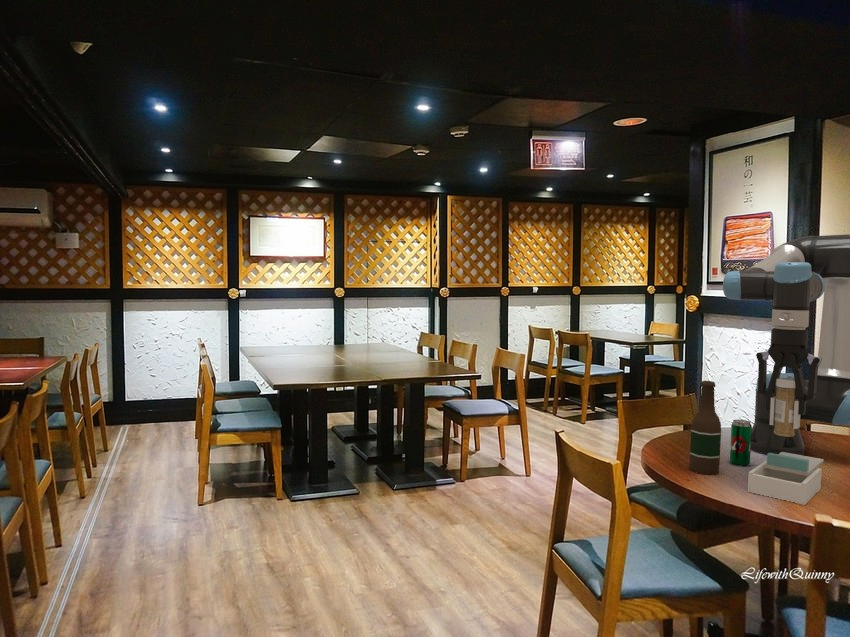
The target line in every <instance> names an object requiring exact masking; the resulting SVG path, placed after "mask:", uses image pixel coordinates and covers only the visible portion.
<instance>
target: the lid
mask: <svg viewBox="0 0 850 637" xmlns="http://www.w3.org/2000/svg"><path fill="white" fill-rule="evenodd" d="M766 456H767V457H766V460H767V463H765V464H764V467H765V468H770V469H775V470H780V471H785V472H790V473H795V474H800V475H805V476H809V475H810V474H811V473H812V472H814V471H815V470H816V469H817V468H820V467H821V465H822V464H824V460H825V459H824V458H820V457H819V458H818V457H814V456H807V455H797V454H791V453H786V452H781V453H780V454H774V453H768V454H766Z"/></svg>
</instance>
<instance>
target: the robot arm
mask: <svg viewBox="0 0 850 637" xmlns="http://www.w3.org/2000/svg"><path fill="white" fill-rule="evenodd" d="M722 281H723V283H722V290H723V295H724V297H725V298H727V299H728V300H738V301H763V302H764V301H767V302H772V310H771V311H772V312H771V326H773V328H771V331H770V332H771V333H770V346H769V348H768V350H766V351H760V352H759V351H758V352H757V353H756V355H755V356H756V360H757V362H758V373H757V379H756V388H755V401H754V402H755V403H754V404H755V405H754V406H755V407H754V408H755V409H754V423H753V424H752V434H751V451H754V452H756V453H758V454H764V455H767V454H768V453H774V454H780V453H781V452H786V453H791V454H797V455H803V456H805V455H804V454H805V444H804V440H803V437H802V434H801V429H800V427H801V421H809V422H810V421H811V422H815V423H822V424H829V425H833V426H845V427H847V426H849V427H850V234H830V235H829V234H828V235H807V236H803V237H798V238H795V239H792V240H789V241H787V242H784V243H782V244H780V245H778V246H776V247H775V248H774V249H772V251H770V253H769V256H767V257H765V258H764V259H762V260H760V261H758V262H757V263H756V264H754V265H752V266H751V267H748V268H747V269H746V270H732V271H728V272H727V273H725V275H724V276H723V280H722ZM822 296H823V298H822V299H823V301H822V311H821V320H820V322H821V323H820V331H819V340H818V341H819V342H818V351H817V353H818V354H817V356H816V355H813V354H810V351H809V348H808V339H809V331H808V330H807V329H806V328H809V324H810V323H809V322H810V304H811V302H814V301H816V300H818V299H820V298H821V297H822ZM769 356H770V358H771V359H772V360H773V362H774V365H773V368H772V370H773V371H772V372H773V373H772V374H769V373H767V372H768V371H767V370H768V361H767V360H769ZM806 360H808V365H810V366H809V371H808V372H809V373H808V379H804V377H803V376H804V375H803V371H802V368H803V367H802V364H803V363H804V362H805V361H806ZM784 368H789V369H791V371H792V372H782V371H783V369H784ZM777 378H791V379H795V384H796V389H797V393H796V401H795V404H794V423H793V429H795V436H791V437H785V436H779V435H776V434H774V428H775V399H776V387H777V386H776V379H777Z"/></svg>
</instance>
